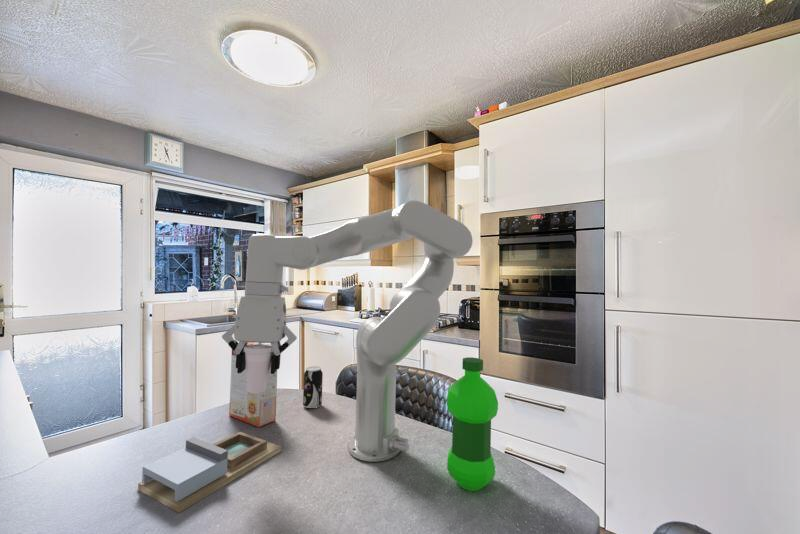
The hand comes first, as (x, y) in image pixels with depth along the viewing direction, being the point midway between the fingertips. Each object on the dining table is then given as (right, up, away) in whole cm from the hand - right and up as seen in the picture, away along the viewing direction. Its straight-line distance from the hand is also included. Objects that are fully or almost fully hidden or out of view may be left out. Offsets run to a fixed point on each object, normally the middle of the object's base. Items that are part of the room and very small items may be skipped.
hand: (257, 371), depth 73 cm
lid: (-11, -18, -8) cm, 23 cm away
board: (-8, -20, -2) cm, 21 cm away
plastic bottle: (+46, -22, -5) cm, 51 cm away
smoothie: (0, -4, 0) cm, 4 cm away
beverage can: (+4, -21, +32) cm, 38 cm away
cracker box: (-11, -21, +22) cm, 32 cm away
